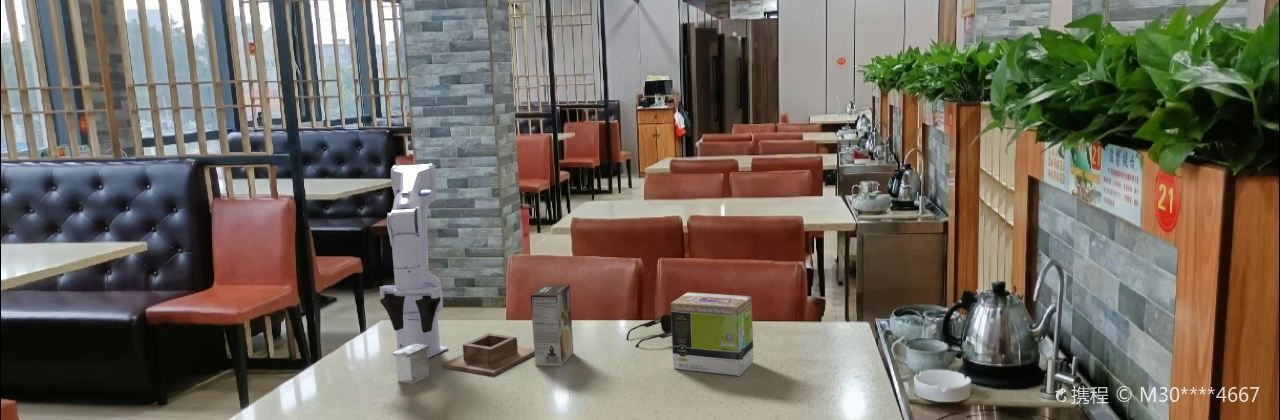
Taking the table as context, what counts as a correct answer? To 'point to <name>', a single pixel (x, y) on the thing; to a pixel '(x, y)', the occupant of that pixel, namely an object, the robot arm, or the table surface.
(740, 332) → the tea box
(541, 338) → the coffee box
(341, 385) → the table surface
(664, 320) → the sunglasses
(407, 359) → the pale gray rectangular block
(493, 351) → the walnut holder
